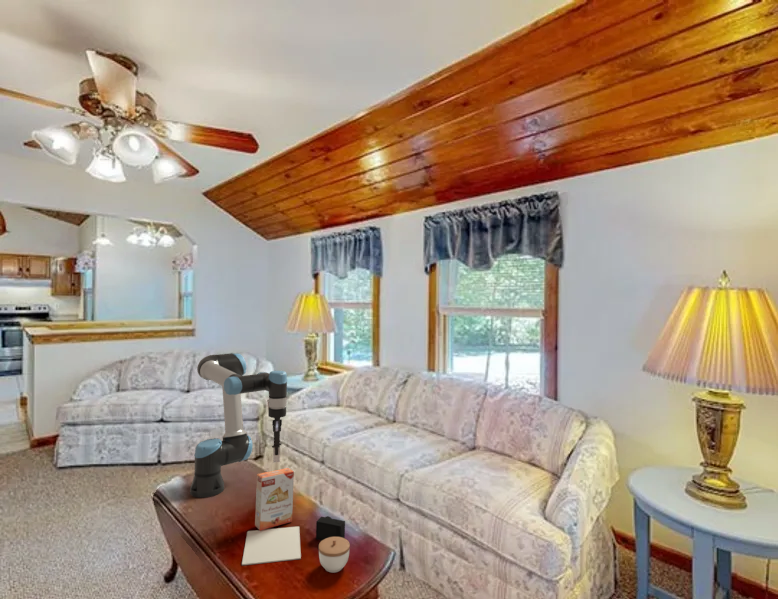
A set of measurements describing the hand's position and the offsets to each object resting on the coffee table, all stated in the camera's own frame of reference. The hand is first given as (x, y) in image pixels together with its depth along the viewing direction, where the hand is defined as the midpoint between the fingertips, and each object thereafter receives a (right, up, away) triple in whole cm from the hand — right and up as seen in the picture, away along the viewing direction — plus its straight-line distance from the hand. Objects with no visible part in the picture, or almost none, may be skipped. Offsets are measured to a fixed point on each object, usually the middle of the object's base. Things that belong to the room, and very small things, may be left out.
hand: (276, 461), depth 188 cm
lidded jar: (+30, -23, -38) cm, 53 cm away
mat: (+5, -22, -25) cm, 34 cm away
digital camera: (+26, -23, -20) cm, 40 cm away
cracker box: (+2, -22, -11) cm, 24 cm away
